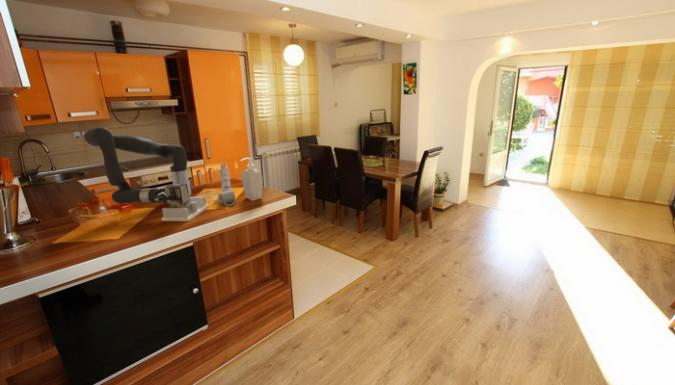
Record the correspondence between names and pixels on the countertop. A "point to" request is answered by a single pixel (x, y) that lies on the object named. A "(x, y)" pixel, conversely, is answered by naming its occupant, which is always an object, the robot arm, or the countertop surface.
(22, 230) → the countertop surface
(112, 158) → the robot arm
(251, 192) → the soap bottle
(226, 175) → the plastic bottle
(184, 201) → the coffee box
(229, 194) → the ceramic mug
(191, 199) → the slot rack
